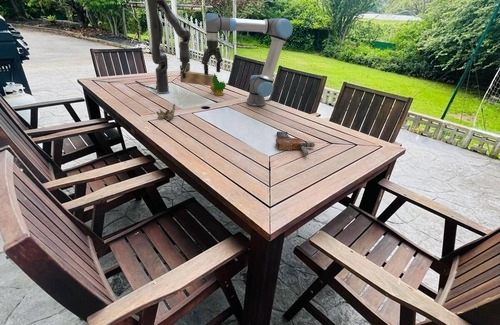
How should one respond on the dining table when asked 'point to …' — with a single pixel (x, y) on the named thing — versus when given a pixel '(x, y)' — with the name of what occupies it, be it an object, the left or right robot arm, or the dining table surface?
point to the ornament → (217, 86)
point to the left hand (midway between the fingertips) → (185, 77)
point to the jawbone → (166, 113)
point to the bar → (197, 78)
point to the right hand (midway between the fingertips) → (212, 73)
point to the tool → (291, 143)
